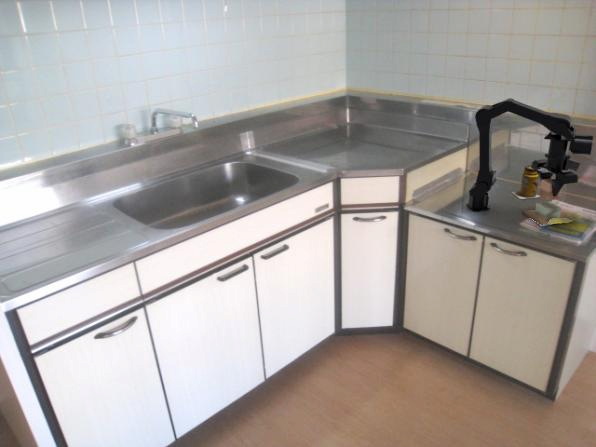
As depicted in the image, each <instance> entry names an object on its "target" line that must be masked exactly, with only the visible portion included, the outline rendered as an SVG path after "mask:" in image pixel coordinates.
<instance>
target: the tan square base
mask: <svg viewBox="0 0 596 447" xmlns="http://www.w3.org/2000/svg"><path fill="white" fill-rule="evenodd" d="M535 204H536V205H535V209H529V210H523V211H522V214H523V215H524V216H525V217H526V218H528V219H529V218H531V219H533V220H534V221H536V222H538V223H539V224H541V225H543V224H547V223H548V222H549V220H550V219H552V218H567V219H569V220H573V219H572V218H570V217H568V216H567V215H565V214H563V213H562V207H561V206H559V205H557V203H555V202H553V201H546V202H545V201H544V202H537V203H535ZM531 219H530V220H531ZM534 221H533V222H534Z"/></svg>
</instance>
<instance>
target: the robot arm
mask: <svg viewBox="0 0 596 447" xmlns="http://www.w3.org/2000/svg"><path fill="white" fill-rule="evenodd" d="M506 113H510V114H513V115H516V116H519V117H521V118H524V119H527V120H529V121H531V122H535V123H537V124H540V125H542V126H543V127H544V128H545V129H547V130H548V131H549V132H548V133H547V134H545V135H544V137H543V140H549V143H548V144H549V145H548V150H547V152H546V153H544V157H545V158H543V159H535V160H533V161H532V162H531V165H532V166H531V168H533V169H535V170H537V169H538V168H539V169H538V171H536V173H537V174H538V176H539V180H540V182H541V181H542V180H543V179H551V178H552V177H553V175H555V177H554V178H555V179H551V184H552V192H553V196H554V197H555V196H557V195H558V193H559V191H560V190H561V188H562V189H563V188H564V186H565V185H569V184H576V183H579V179H580V178H579V177H580V176H579V175H578V174H577V173H575V172H578V170H579V168H580V166H581V162H579V161H577V160H576V159H573V158H571V155H570V154H567V151H570V153H571V154H572V155H581V156H582V155H583V156H591V155H592V151H593V146H594V145H593V144H594V142H593V141H594V137H595V135H594V134H580V133H578V134H577V130H576V129H575V127H574V126H573V119H572V117H571V116H570V115H568V114H564V113H559V112H550V111H545V110H543V109H540V108H537V107H534V106H531V105H528V104H526V103H523V102H520V101H519V100H516V99H514V98H512V97H511V98H506V99H505V100H503V101H498V102H497V103H493V104H492V105H490V104H485V105H483V106H482V107H481V108H479V109H478V110H477V111H476V113H475V114H474V118H475V123H476V127H477V129H478V133H479V134H478V138H479V140H478V141H479V142H478V143H479V144H478V145H479V146H478V147H479V150H478V151H479V158H478V159H479V165H478V167H479V170H478V172H477V176H476V180H475V183H473V185H472V186H471V187H470V189H469V190H468V193H469V195H468V203H467V204H466V205H465V206H467V207H468V208H469V209H470V210H471V211H473V212H479V211H480V212H481V211H486V210H490V208H489V207H488V206H489V200H490V196H489V192H490V191H491V189H492V187H493V186H494V185H495V184H496V182H497V180H498V179H497V170H493V168H492V129H493V126H494V123H495V118H497V117H499V116H501V115H503V114H506ZM569 142H570V143H569ZM568 146H569V147H568ZM569 170H573V171H574V172H572V171H569Z"/></svg>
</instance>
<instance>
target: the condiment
mask: <svg viewBox="0 0 596 447" xmlns="http://www.w3.org/2000/svg"><path fill="white" fill-rule="evenodd" d="M531 166H532V164H531V165H530V164H529V165H526V166H525V167H524V169H523V171H524V172H523V173H522V178H521V183H520V185H521V186H520V191H511V194H513V195H514V196H516V197H517V198H519V199H520V200H525V199H537V198H541V196H540V195H539V194H537V192H538V184H539V180H540V178H539V176H538V174H537V173H536V171H538V169H539V167H538V169H537V170H535V169H533V168H531Z"/></svg>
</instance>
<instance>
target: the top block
mask: <svg viewBox="0 0 596 447" xmlns="http://www.w3.org/2000/svg"><path fill="white" fill-rule="evenodd" d="M555 178H556V177H553V178H552V177H551V179H555ZM551 179H543V180H542V181H540V183H541V184H540V188H539V193H538V195H539V196H540V197H542V198H543V199H545V200H547V201H552V200H559V199H561V198H562V192H563V187H562V188H561V190H560V191H559V193H558V195H557V196H555V197H554V196H553V192H552V184H551Z"/></svg>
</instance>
